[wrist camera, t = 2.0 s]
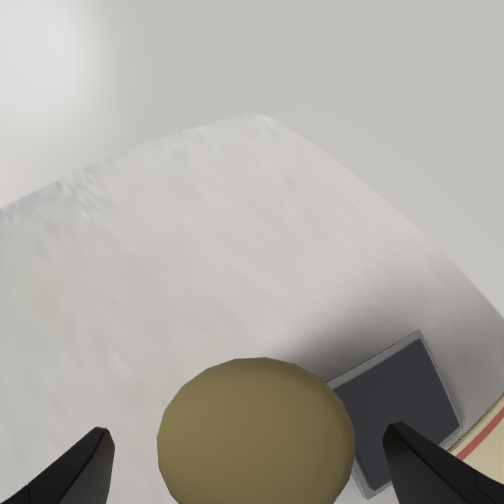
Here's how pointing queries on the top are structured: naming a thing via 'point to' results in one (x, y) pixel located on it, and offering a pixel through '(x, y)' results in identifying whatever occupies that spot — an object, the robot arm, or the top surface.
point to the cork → (256, 437)
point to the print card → (485, 444)
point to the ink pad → (394, 405)
